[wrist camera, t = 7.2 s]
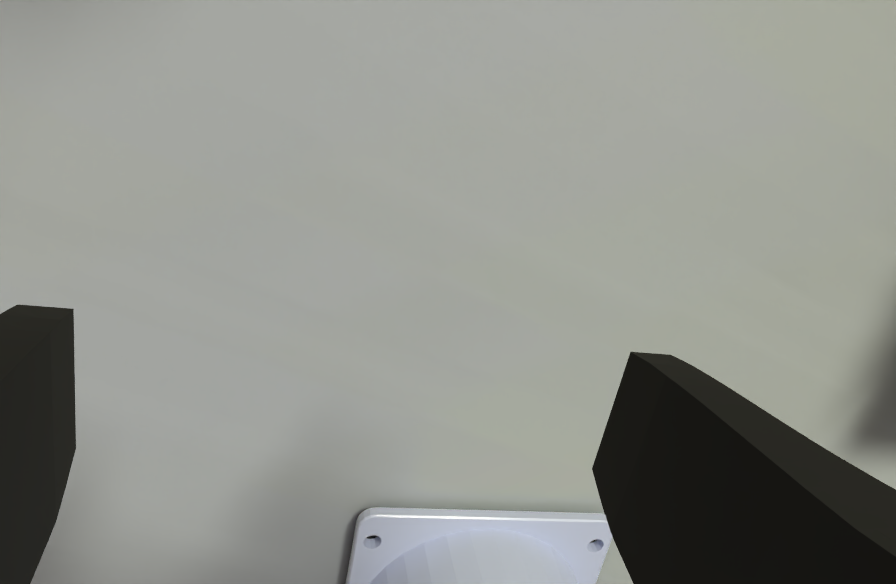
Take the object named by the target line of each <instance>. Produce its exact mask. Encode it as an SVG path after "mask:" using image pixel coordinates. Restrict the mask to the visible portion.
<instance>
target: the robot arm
mask: <svg viewBox="0 0 896 584" xmlns="http://www.w3.org/2000/svg"><path fill="white" fill-rule="evenodd" d="M75 449H76V434H75V375H74V317H73V309H67V308H55V307H42V306H29V305H16V306H14V307H12V308H10V309H8V310H7V311H5V312H3V313H2V314H0V584H30V583H31V580H32V578H33V576H34V573H35V571H36V568H37V566H38V564H39V561H40V559H41V556H42V554H43V552H44V549H45V547H46V544H47V542H48V540H49V537H50V535H51V532H52V530H53V527H54V525H55V522H56V520H57V516H58V512H59V509H60V505H61V502H62V498H63V495H64V491H65V488H66V484H67V480H68V476H69V472H70V468H71V464H72V461H73V457H74V453H75ZM592 470H593V474H594V477H595V481H596V485H597V488H598V492H599V496H600V499H601V503H602V506H603V509H604V513H605V514H602V513H575V512H537V511H499V510H461V509H423V508H385V507H375V508H369V509H367V510H364V511H363V512H362V513H361V514H360V515H359V516H358V519H357V522H356V527H355V533H354V539H353V544H352V550H351V556H350V561H349V567H348V573H347V578H346V584H596V582H597V579H598V576H599V573H600V571H601V568H602V565H603V562H604V560H605V557H606V554H607V551H608V548H609V546H610V543H611V540H612V537H613V539H614V541H615V543H616V546H617V548H618V550H619V552H620V555H621V557H622V559H623V561H624V563H625V566H626V568H627V570H628V572H629V574H630V577H631V579H632V581H633V583H634V584H896V490H895V489H894V488H892V487H890V486H888V485H886V484H884V483H883V482H881V481H879V480H877V479H876V478H874V477H872V476H871V475H869V474H867V473H865V472H864V471H862V470H860V469H859V468H857V467H855V466H853V465H852V464H850V463H848V462H846V461H845V460H843V459H841V458H840V457H838V456H836V455H834V454H833V453H831V452H830V451H828V450H826V449H825V448H823V447H821V446H820V445H818V444H817V443H815V442H813V441H812V440H810V439H808V438H807V437H805V436H804V435H802V434H800V433H799V432H797V431H796V430H794V429H792V428H791V427H789V426H788V425H786V424H785V423H783V422H781V421H780V420H778V419H777V418H775V417H774V416H772V415H771V414H769V413H767V412H766V411H764V410H763V409H761V408H760V407H758V406H757V405H755V404H753V403H752V402H750V401H749V400H747V399H746V398H744V397H742V396H741V395H739V394H738V393H736V392H735V391H733V390H732V389H730V388H728V387H727V386H725V385H724V384H722V383H720V382H719V381H717V380H715V379H714V378H712V377H711V376H709V375H707V374H706V373H704V372H702V371H701V370H699V369H697V368H695V367H694V366H692V365H690V364H688V363H686V362H684V361H682V360H680V359H678V358H676V357H674V356H672V355H664V354H651V353H638V352H631V353H630V356H629V359H628V362H627V365H626V368H625V371H624V374H623V377H622V380H621V383H620V386H619V389H618V392H617V395H616V398H615V401H614V404H613V407H612V410H611V413H610V416H609V419H608V422H607V425H606V428H605V431H604V434H603V437H602V441H601V444H600V447H599V450H598V453H597V456H596V459H595V462H594V465H593V468H592ZM371 535H376V536H377V537H376V538H373V539H367V537H368V536H371ZM596 539H597V540H596ZM593 540H596V541H594V542H591V541H593ZM590 542H591V543H590Z"/></svg>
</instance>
